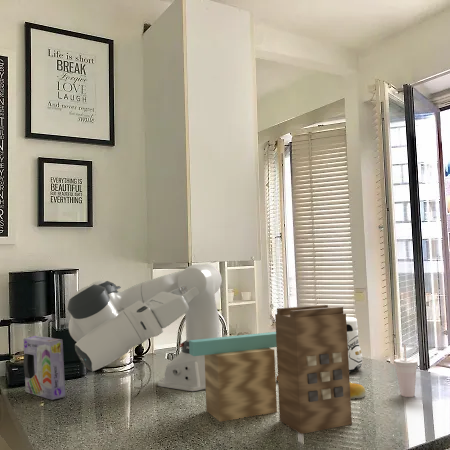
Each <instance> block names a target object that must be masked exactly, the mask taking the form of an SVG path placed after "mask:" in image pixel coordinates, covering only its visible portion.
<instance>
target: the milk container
mask: <svg viewBox="0 0 450 450" xmlns="http://www.w3.org/2000/svg"><path fill="white" fill-rule="evenodd" d="M346 324H347V343H348V361H349V373H351V372H352V373H353V372H355V371H358V370H359V369H360V368H361V367H362V365H363V352H362V349H361V346H360V341H359V339H360V338H359V327H358V326H359V325H358V319H357V318H356V317H352V316H346Z"/></svg>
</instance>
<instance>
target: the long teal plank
mask: <svg viewBox="0 0 450 450" xmlns="http://www.w3.org/2000/svg"><path fill="white" fill-rule="evenodd" d="M263 348H271V349H273V348H277V345H276V331H270V332H260V333H249V334H241V335H228V336H220V337H218V338H208V339H198V340H189V354H190V355H192V356H201V355H210V354H219V353H228V352H237V351H245V350H254V349H263Z"/></svg>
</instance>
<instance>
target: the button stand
mask: <svg viewBox="0 0 450 450" xmlns="http://www.w3.org/2000/svg"><path fill="white" fill-rule="evenodd" d="M274 316H275V332H276V345H277V347H276V364H277V366H276V367H277V376H278V381H277V386H278V388H277V389H278V392H277V393H278V411H279V414H278V415H279V422H280V423H282V422H283V423H282V424H284V425H285V424H286V425H285V426H287V427H289V428H290V429H292V430H294V431H296V432H297V433H298V434H300V435H304V434H308V433H313V432H319V431H323V430H329V429H334V428H339V427H343V426H345V427H346V426H350V425H352V424H353V419H352V418H353V417H352V403H351V401H352V399H351V398H350V381H351V380H350V372H349V361H348V343H347V324H346V317H347V313H345V312H344V306H331V307H329V306H328V304H320V305H319V304H317V305H316V304H315V305H307V306H306V305H305V306H293V307H291V306H290V307H278V308H276V313H275V315H274Z"/></svg>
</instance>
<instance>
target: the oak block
mask: <svg viewBox="0 0 450 450" xmlns="http://www.w3.org/2000/svg"><path fill="white" fill-rule="evenodd" d="M275 357H276V356H275V349H273V348H263V349H254V350H245V351H237V352H228V353H219V354H210V355H205V384H206V389H205V411H206V412H207V413H208V414H209V415H211V417H214V419H216V420H217V421H218V422H219V423H221V422H228V421H233V419H234V420H238V419H239V418H240V419H245V418H244V417H246V418H250V417H249V416H251V417H256V415H257V416H261V415H262V414H263V415H267V414H273V413H278V406H277V384H276V383H277V381H276V380H277V376H276V358H275ZM263 415H262V416H263ZM240 419H239V420H240ZM227 420H228V421H227Z"/></svg>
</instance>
